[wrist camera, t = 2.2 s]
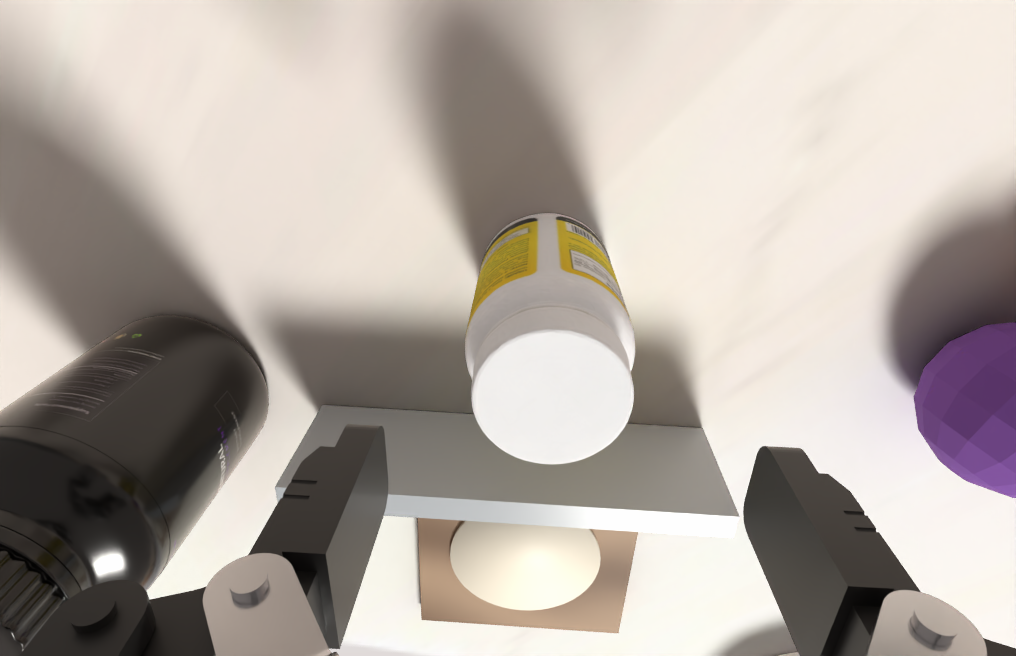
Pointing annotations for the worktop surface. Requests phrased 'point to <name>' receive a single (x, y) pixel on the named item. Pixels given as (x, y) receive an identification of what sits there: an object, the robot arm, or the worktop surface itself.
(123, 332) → the supplement bottle
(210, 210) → the worktop surface
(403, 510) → the low wall
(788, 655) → the coaster
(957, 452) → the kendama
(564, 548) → the walnut board
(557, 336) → the supplement bottle
